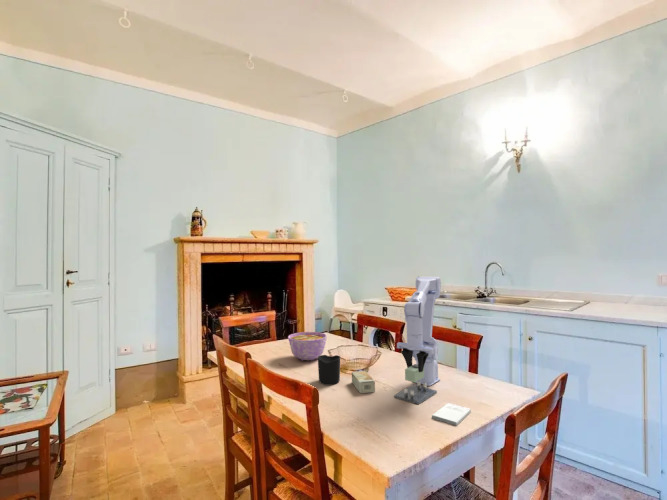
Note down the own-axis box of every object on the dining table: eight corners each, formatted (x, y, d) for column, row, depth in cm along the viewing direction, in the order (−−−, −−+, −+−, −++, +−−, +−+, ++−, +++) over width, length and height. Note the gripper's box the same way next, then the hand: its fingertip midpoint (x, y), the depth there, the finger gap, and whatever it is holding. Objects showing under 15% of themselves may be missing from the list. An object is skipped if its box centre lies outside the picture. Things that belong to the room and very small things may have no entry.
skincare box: (359, 382, 137) (350, 372, 149) (359, 393, 137) (351, 382, 149) (375, 380, 138) (365, 370, 150) (375, 391, 138) (365, 381, 150)
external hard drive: (431, 419, 115) (447, 406, 125) (456, 427, 110) (471, 413, 120) (431, 414, 115) (447, 402, 125) (456, 422, 110) (471, 408, 120)
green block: (414, 374, 138) (414, 363, 138) (424, 377, 135) (423, 365, 135) (405, 380, 133) (404, 367, 133) (414, 382, 130) (414, 369, 130)
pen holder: (327, 387, 144) (327, 362, 144) (313, 381, 151) (313, 357, 151) (345, 381, 150) (344, 357, 150) (331, 375, 157) (330, 353, 157)
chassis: (413, 386, 143) (413, 378, 143) (436, 392, 136) (436, 384, 136) (394, 397, 133) (394, 388, 133) (418, 404, 126) (418, 395, 126)
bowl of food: (281, 362, 177) (281, 339, 178) (297, 352, 197) (297, 331, 197) (319, 365, 172) (319, 341, 172) (332, 354, 191) (331, 332, 191)
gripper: (392, 333, 137) (392, 368, 137) (427, 338, 127) (427, 377, 127) (402, 330, 142) (402, 364, 142) (436, 335, 132) (437, 372, 132)
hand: (415, 370), depth 135 cm, fingers closed on green block, 4 cm apart
